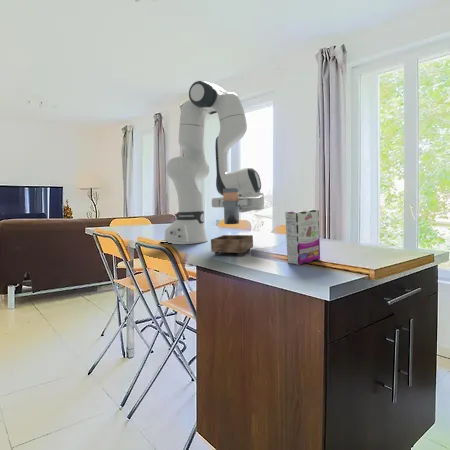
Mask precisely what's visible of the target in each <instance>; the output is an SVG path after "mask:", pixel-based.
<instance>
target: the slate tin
mask: <svg viewBox="0 0 450 450" xmlns="http://www.w3.org/2000/svg"><path fill="white" fill-rule="evenodd" d="M238 200H239V197H238V188H224V189H223V201H224V207H223V221H224V223H223V224H224V225H239V224H240V212H239V206H238V205H237V201H238Z"/></svg>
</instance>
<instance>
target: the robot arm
mask: <svg viewBox="0 0 450 450" xmlns="http://www.w3.org/2000/svg"><path fill="white" fill-rule="evenodd" d="M188 98H189V99H188V100H186V101H185V102H183V104H182V108H181V111H180V117H179V128H178V144H179V146H180V147H181V149H182V154H183V156H181V155H180V156H175V157H173V158H170V159H169V160H168V162H167V164H166V166H165V169H166V174H167V176H168V177H169V179H171V180H172V182H173V185H174V187H175V190H176V194H177V204H178V212H177V213H174V214H173V215H174V216H173V217H175V221H172V223H171V224H170V225H169V226H167V228H165V231H164V238H162V239H160V240H161V241H166V242H169V243H172V244H171V245H183V246H184V245H189V244H190V245H191V244H199V243H205V242H208V237H207V233H206V228H205V212H204V209H203V207H204V206H203V194H202V192H201V191H200V189H199V188H198V185H197V183H196V182H199V181H202V180H205V179H206V178H207V177H208V176H209V173H210V166H209V164H208V162H207V160H206V156H205V150H204V136H205V135H204V134H205V133H204V131H205V119H206V116H207V115H208V114H209V115H214V114H217V116H218V121H219V132H218V135H217V137H216V138H215V144H214V145H215V146H214V147H215V148H214V149H215V167H216V180H215V181H216V182H215V187H216V191H217V192H218V194H220V195H221V196H223V189H224V188H238V197H239V200H238V201H237V205H238V206H239V213H247V212H251V211H256V210H263V209H264V208H265V196H264V192H261V190H262V182H261V178H260V174H259V173H258V172H257V171H256V170H255V169H254V168H252V167H250V166H248V167H244V168H241V169H238V170H233V171H231V172H229V167H228V166H229V165H228V153H229V150H230V149H231V148H232V147H233V146H234V145H236V143H238V142H239V141H241V139H242V138H243V137H244V136H245V135H246V132H247V128H248V127H247V126H248V125H247V119H246V114H245V111H244V107H243V103H242V102H241V99H240V97H239V95H238V94H237V93H235V92H231V91H228V92H227V90H226V89H224V88H222V87H220V86H219V85H217V84H215V83H210V82H208V81H207V80H196V81H195V82H193V83H192V84H191V86H190V87H189V90H188ZM211 207H212V208H224V201H223V197H213V198H211Z"/></svg>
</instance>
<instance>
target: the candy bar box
mask: <svg viewBox="0 0 450 450" xmlns="http://www.w3.org/2000/svg"><path fill="white" fill-rule="evenodd" d="M319 213H320V210H319V209H314V208H313V209H311V208H309V209H307V208H306V209H301V210H294V211H293V210H291V211H286V212H285V230H286V232H285V233H286V255H287V257H286V258H287V259H286V260H287V264H289V265H296V266H302V265H304V264H309V263H311V261H312V262H314V261H313V260H316V259H319V260H320V259H321V247H320V245H321V244H320V243H321V242H320V241H321V239H320V214H319ZM316 261H317V260H316Z"/></svg>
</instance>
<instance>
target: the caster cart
mask: <svg viewBox="0 0 450 450" xmlns="http://www.w3.org/2000/svg"><path fill="white" fill-rule="evenodd" d="M253 248H254V238H253V235H252V234H251V235H250V234H247V235H246V234H241V235H239V234H222V235H220V236H217V237H214V238H211V239H210V249H211V251H210V252H212V253H214V255H215V256H219V255H220V253H233V254H234V253H236V254H237V257H241V256H243V253H245V252H247V253H248V252H250V251H252V250H251V249H253Z"/></svg>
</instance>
